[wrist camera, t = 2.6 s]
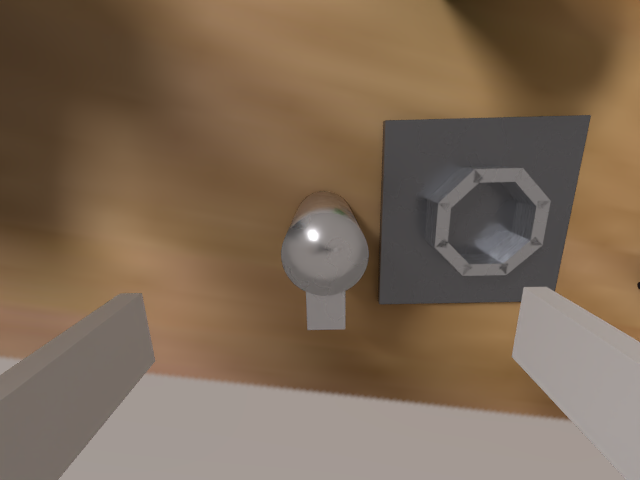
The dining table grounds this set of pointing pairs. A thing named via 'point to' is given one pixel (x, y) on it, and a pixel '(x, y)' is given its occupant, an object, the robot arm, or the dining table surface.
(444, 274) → the duct flange
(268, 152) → the dining table surface
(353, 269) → the elbow
